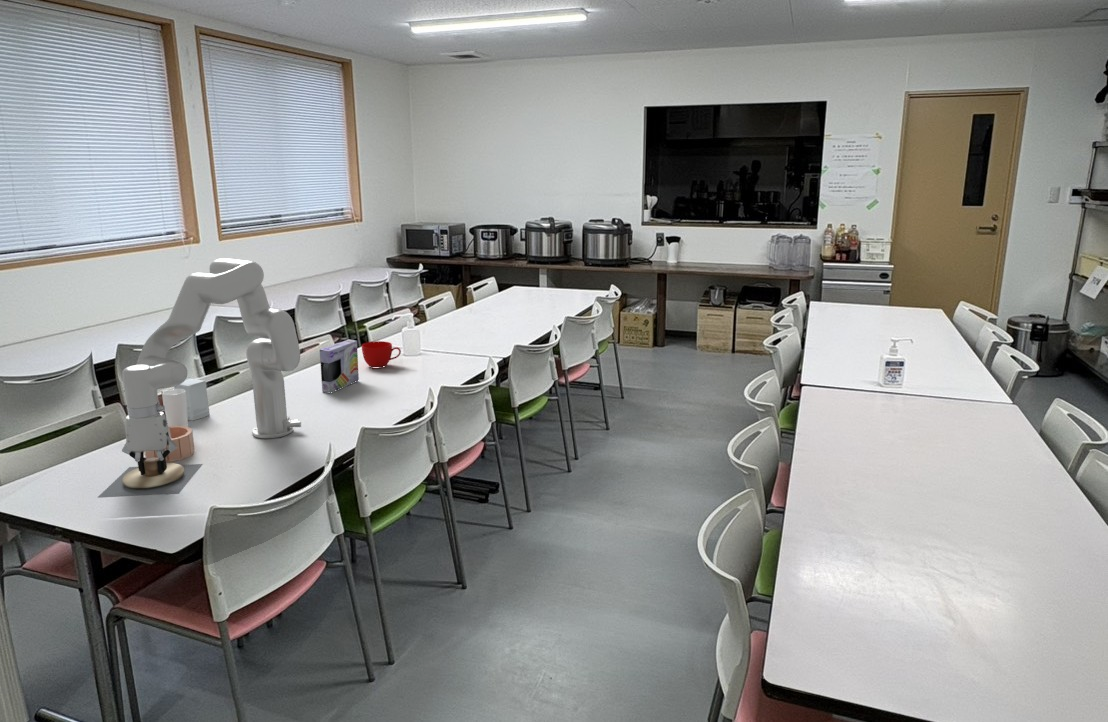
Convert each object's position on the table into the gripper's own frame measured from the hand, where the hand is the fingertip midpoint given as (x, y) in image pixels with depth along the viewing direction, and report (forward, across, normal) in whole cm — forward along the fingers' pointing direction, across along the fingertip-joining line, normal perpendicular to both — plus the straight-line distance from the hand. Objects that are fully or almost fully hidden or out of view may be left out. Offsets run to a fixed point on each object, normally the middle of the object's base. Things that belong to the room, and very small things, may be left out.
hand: (153, 472), depth 199 cm
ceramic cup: (+5, -53, -116) cm, 127 cm away
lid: (+1, 0, 0) cm, 1 cm away
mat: (+2, 0, 0) cm, 3 cm away
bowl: (+3, +2, -19) cm, 19 cm away
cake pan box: (+4, -39, -86) cm, 94 cm away
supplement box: (+3, +7, -55) cm, 56 cm away
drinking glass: (+3, +5, -36) cm, 36 cm away
